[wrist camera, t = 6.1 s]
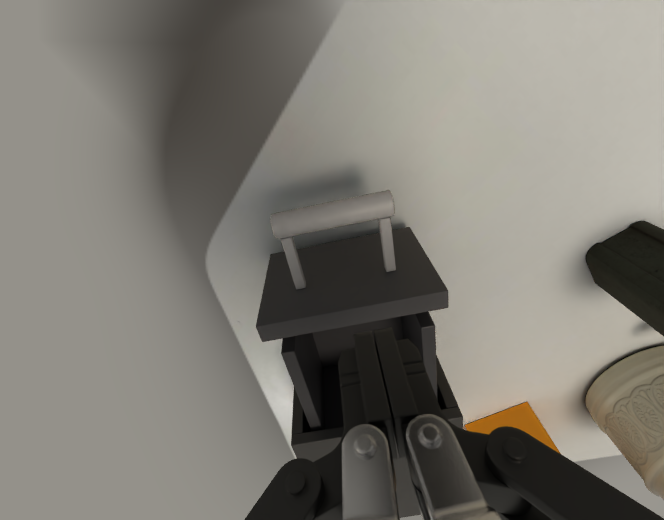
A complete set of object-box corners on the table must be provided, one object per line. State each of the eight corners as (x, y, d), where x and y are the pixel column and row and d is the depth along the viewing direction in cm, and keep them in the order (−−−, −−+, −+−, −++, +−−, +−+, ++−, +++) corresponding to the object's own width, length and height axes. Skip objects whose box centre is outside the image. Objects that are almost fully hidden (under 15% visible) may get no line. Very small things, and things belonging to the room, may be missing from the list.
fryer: (296, 341, 30) (290, 445, 22) (420, 318, 30) (463, 417, 21) (325, 426, 37) (329, 529, 29) (426, 408, 37) (460, 508, 28)
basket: (249, 191, 22) (222, 249, 15) (404, 159, 21) (448, 203, 15) (308, 366, 31) (308, 450, 24) (418, 346, 30) (449, 427, 24)
